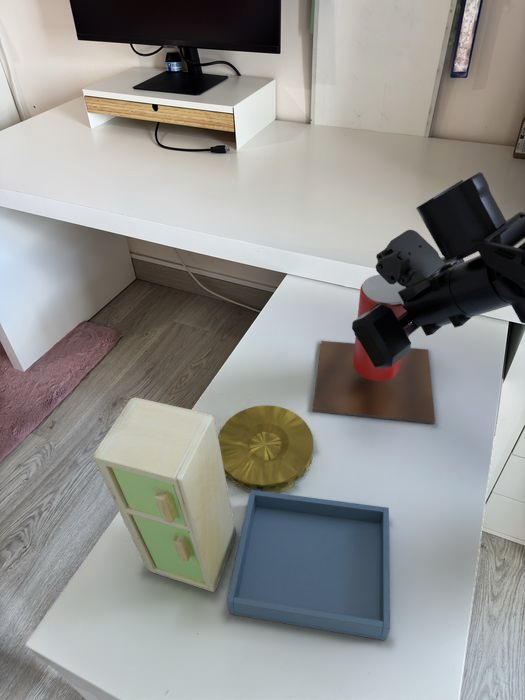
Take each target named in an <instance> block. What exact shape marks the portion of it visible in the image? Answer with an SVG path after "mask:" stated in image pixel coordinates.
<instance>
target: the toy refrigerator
mask: <svg viewBox="0 0 525 700" xmlns="http://www.w3.org/2000/svg"><path fill="white" fill-rule="evenodd" d="M218 435H219V434H218V430H217V425H216V420H215V417H214V416H213V415H211V414H209V413H206V412H202V411H199V410H195V409H189V408H185V407H180V406H176V405H171V404H167V403H162V402H158V401H153V400H149V399H145V398H140V397H131V398H130V399H129V400H128V402H127V403H126V405H125V406H124V407H123V409H122V411H121V412H120V413H119V415H118V417H117V418H116V419H115V421H114V423H113V424H112V426H111V427H110V428H109V430H108V432H107V433H106V435H105V436H104V437H103V439H102V441H101V442H100V444H99V445H98V446H97V448H96V450H95V451H94V454H93V455H92V456H93V457H92V459H93V461H94V463H95V466H96V467H97V469H98V471H99V473H100V476H101V477H102V479H103V482H104V484H105V486H106V487H107V490H108V492H109V494H110V496H111V498H112V500H113V502H114V504H115V506H116V508H117V510H118V511H119V513H120V516H121V518H122V520H123V523H124V524H125V526H126V529H127V530H128V533H129V535H130V537H131V538H132V539H131V540H132V541H133V543H134V545H135V547H136V549H137V552H138V553H139V555H140V557H141V559H142V561H143V563H144V566H145V567H146V569H147V570H148V571H149V572H151V573H154V574H156V575H159V576H162V577H166V578H168V579H172V580H174V581H177V582H178V581H179V582H181V583H184V584H187V585H190V586H192V587H193V586H194V587H197V588H199V589H202V590H205V591H208V592H212V593H214V592H215V591H216V590H217V588H218V585H219V584H220V581H221V579H222V576H223V573H224V571H225V569H226V568H225V567H226V565H227V562H228V560H229V557H230V556H231V555H230V554H231V552H232V549H233V547H234V544H235V541H236V539H237V531H236V524H235V520H234V514H233V510H232V503H231V498H230V492H229V487H228V483H227V478H226V477H225V472H224V467H223V461H222V455H221V450H220V445H219V440H218Z"/></svg>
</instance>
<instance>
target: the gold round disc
mask: <svg viewBox="0 0 525 700" xmlns="http://www.w3.org/2000/svg"><path fill="white" fill-rule="evenodd" d="M217 435H218V440H219V445H220V450H221V455H222V461H223V467H224V472H225V477H226V479H227V478H228V479H229V480H230V481H232V482H233V483H235V484H236V485H237V486H239V487H242V488H244V489H247V490H255V491H264V492H271V493H279V494H281V493H283V492H286V491H288V490H290V489H292V488H294V484H295V483H296V482H297V481H299V480H300V479H301V478H302V477H303V476H304V474H306V472H307V471H308V469H309V468H310V466H311V464H312V460H313V456H314V436H313V433H312V431H311V428H310V427H309V425H308V424H307V423H306V421H305V420H304V419H303V418H302V417H301V416H299V415H298V414H297V413H295V412H294V411H292V410H291V409H287V408H284V407H281V406H277V405H264V404H263V405H255V406H252V407H248V408H245V409H243V410H240V411H238V412H237V413H235V414H234V415H232V416H231V417H230V418H228V419H227V421H225V423H224V424H223V425H222V427H221V429H220V430H219V433H218V434H217Z"/></svg>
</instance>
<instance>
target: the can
mask: <svg viewBox="0 0 525 700" xmlns="http://www.w3.org/2000/svg"><path fill="white" fill-rule="evenodd" d="M404 288H406V287H404V286H401V285H400V284H399V283H398V282H396V283H395V284H389V283H388V282H387V281H386V280H385V279H384V278H383V277H382V276H381V275H380V274H376V275H371V276H369V277H367V278H366V279H365V280H364V281H363V283H361V286H360V289H359V298H358V299H359V300H358V310H357V318H359V317H360V316H361V315H363V314H364V313H365V312H367V311H368V310H370V309H371V308H373V307H374V306H375V305H377V304H378V305H380V304H383V305H385V306H387V307H389V308H391V309H392V310H393V312H394V314H395V316H396V317H397V318H398V317H399V316H401V315H402V314H403V313H405V312H406V311H407V310H405V309H404V308H403V306H402V302H403V301H402V299H401V297H400V295H399V294H398V292H399V291H400V290H402V289H404ZM407 326H408V325H407ZM404 328H405V327H404ZM404 328H403V329H404ZM354 344H355V347H354V357H353V366H354V369H355V370H356V372H357V373H358V374H359V375H361V376H362V377H364V378H366V379H369V380H373V381H385V380H389V379H391V378H393V377H394V376H396V375H397V373H398V372H399V370H400V364H401V359H402V358H401V359H400V360H399V361H398V362H396V363H395V364H394V365H393V366H392V367H387V368H383V369H378V368H375V367H374V365H373V363H372V362H371V360H370V358H369V357H368V355H367V353H366V352H365V350H364V348H363V346H362V345H361V343H360V341H358V339H357V338H356V336H355V338H354Z"/></svg>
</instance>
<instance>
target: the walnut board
mask: <svg viewBox="0 0 525 700" xmlns="http://www.w3.org/2000/svg"><path fill="white" fill-rule="evenodd" d="M354 347H355V342H354V343H352V342H342V341H329V340H328V341H327V340H321V343H320V351H319V357H318V366H317V375H316V382H315V389H314V397H313V404H312V412H317V413H325V414H336V415H344V416H345V415H346V416H355V417H365V418H372V419H373V418H374V419H384V420H394V421H402V422H403V421H404V422H410V423H411V422H412V423H422V424H423V423H424V424H431V425H435V423H436V417H435V415H436V414H435V405H434V394H433V385H432V384H433V383H432V375H431V364H430V356H429V355H430V353H429V349H426V348H416V347H415V348H414V347H410V351H409V352H408V353H407V354H406V355H405V356H403V357H402V359H401V364H400V370H399V372H398V373H397V375H396V376H394V377H393V378H391V379H389V380H385V381H373V380H369V379H366V378H364V377H362V376H361V375H359V374H358V373H357V372H356V370H355V369H354V366H353V357H354Z"/></svg>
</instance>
